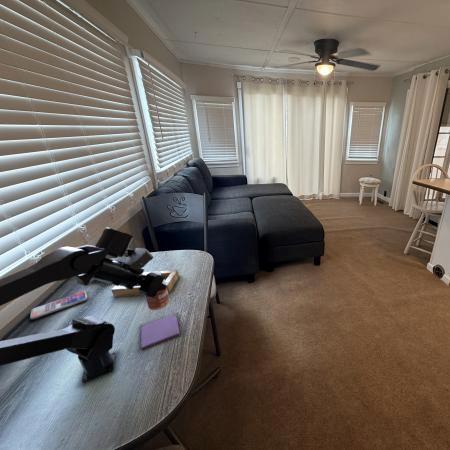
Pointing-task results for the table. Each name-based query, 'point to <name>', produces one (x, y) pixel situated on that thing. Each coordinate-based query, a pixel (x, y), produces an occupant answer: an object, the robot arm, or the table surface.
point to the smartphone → (58, 305)
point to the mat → (159, 330)
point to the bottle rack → (120, 291)
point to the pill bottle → (158, 298)
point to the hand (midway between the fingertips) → (159, 285)
